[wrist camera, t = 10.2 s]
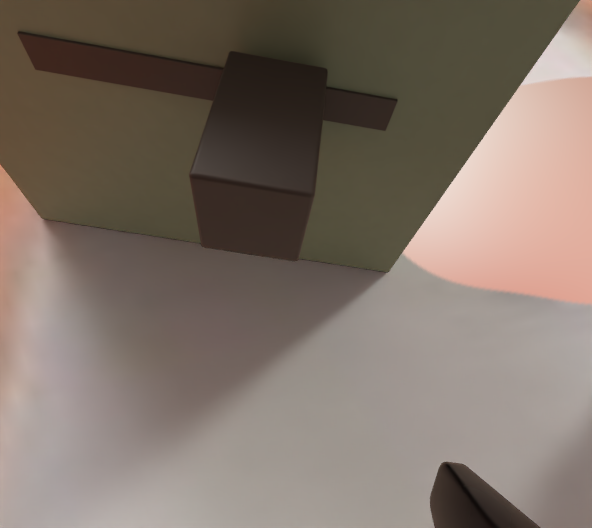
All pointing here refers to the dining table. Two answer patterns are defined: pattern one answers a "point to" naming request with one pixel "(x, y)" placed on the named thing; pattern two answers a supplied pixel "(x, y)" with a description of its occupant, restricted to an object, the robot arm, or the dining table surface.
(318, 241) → the toaster
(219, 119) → the slider
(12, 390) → the dining table surface
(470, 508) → the robot arm
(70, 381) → the dining table surface
